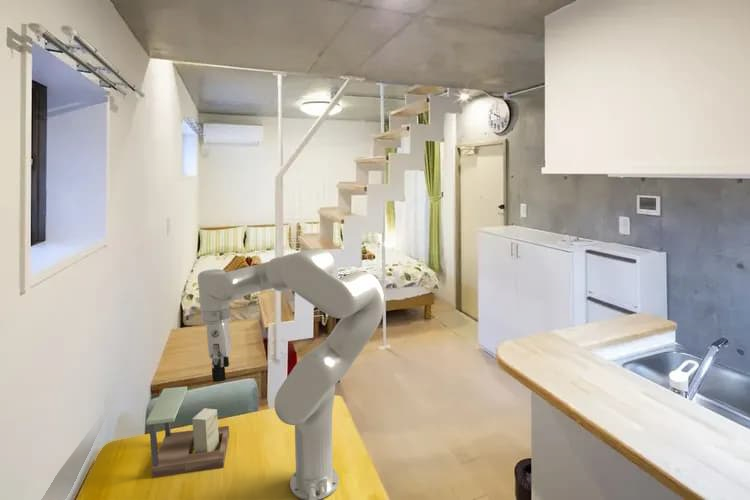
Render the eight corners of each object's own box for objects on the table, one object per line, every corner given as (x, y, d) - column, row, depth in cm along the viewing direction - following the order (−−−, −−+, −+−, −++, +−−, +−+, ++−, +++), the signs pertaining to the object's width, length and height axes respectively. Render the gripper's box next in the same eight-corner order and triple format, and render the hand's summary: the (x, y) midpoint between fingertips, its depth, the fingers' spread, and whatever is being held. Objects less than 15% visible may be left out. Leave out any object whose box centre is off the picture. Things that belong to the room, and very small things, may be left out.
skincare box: (207, 460, 118) (205, 420, 117) (193, 458, 119) (191, 418, 117) (219, 446, 125) (217, 409, 123) (206, 444, 125) (204, 407, 123)
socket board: (222, 470, 114) (219, 412, 112) (151, 480, 110) (146, 421, 107) (229, 432, 132) (226, 382, 129) (167, 440, 127) (163, 388, 125)
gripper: (227, 322, 107) (232, 385, 109) (232, 305, 123) (237, 360, 126) (196, 325, 105) (202, 389, 107) (206, 308, 122) (211, 363, 124)
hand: (221, 373), depth 117 cm, fingers open, 9 cm apart
